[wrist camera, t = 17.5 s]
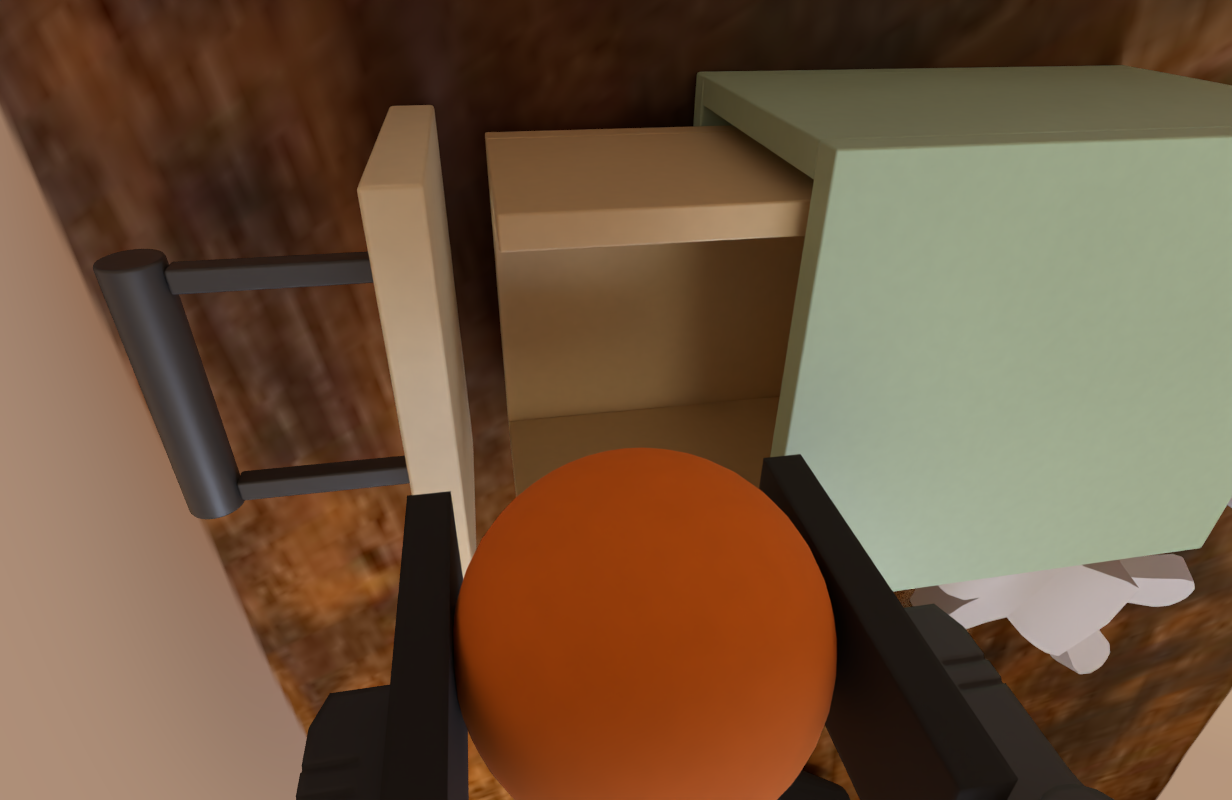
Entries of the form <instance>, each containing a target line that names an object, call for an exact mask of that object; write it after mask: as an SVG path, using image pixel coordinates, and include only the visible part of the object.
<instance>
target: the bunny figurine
mask: <svg viewBox="0 0 1232 800" xmlns="http://www.w3.org/2000/svg"><path fill="white" fill-rule="evenodd" d="M1194 589H1195V587H1194V581H1193V579H1192V577H1191V575H1190V572H1189V570H1188V568H1187V566H1186V563H1185V561H1184V559H1183V557H1180V556H1177V555H1174V554H1168V555H1153V556H1140V557H1133V558H1126V559H1119V560H1112V561H1105V562H1098V563H1091V564H1084V565H1077V566H1070V567H1063V568H1056V569H1049V570H1041V571H1034V572H1027V573H1020V574H1013V575H1006V576H999V577H992V578H985V579H978V580H971V581H964V582H957V583H950V584H943V585H935V586H928V587H921V588H916V590H915V592H914V593H913V595H912V596H911V598H910V599H909V600H910V602H911V603H912V605H913V606H920V605H927V604H935V605H937V606H938V607H939V608H940V609H942V610H943V611H944V612H946V613H947V614H948V615H949V616H951V617H952V618H953V619H955V620H956V621H957V622H959V623H960V624H961V625H962V626H964V628H965V629H968V628H971V627H974V626H977V625H980V624H983V623H986V622H990V621H994V620H998V619H1002V618H1005V617H1007V618H1008V619H1009V621H1010V622H1011V623H1012V624H1013V625H1014V627H1015V628H1016V629H1017V630H1018V631H1019V633H1020V634H1021V635H1022V636H1023V637H1025V638H1026V639H1027V640H1028V641H1029V642H1030V643H1032V644H1033V645H1034V646H1036V647H1037V648H1039V649H1041V650H1042V651H1044V652H1045V653H1049V654H1050V655H1051V657H1052V658H1054V659H1055V660H1056V661H1058V662H1059V663H1061V664H1063V665H1065V666H1066V667H1068V668H1070V669H1072V670H1073V671H1075V672H1077V673H1078V674H1087V673H1091V672H1093V671H1095V670H1096V669H1098V668H1099V667H1101V666H1102V665H1103V663H1104V662H1105V661H1106V660H1107V657H1108V655H1109V653H1110V646H1109V643H1108V641H1107V640H1106V638H1105V637H1104V636H1103V634H1102V633H1101V632H1100V630H1099V629H1101V628H1102V627H1104V626H1105V625H1107V624H1108V623H1109V622H1110V621H1111V620H1112V618H1113V617H1114V616H1115V615H1116V614H1117V613H1118V612H1119V611H1120V610H1121V608H1122V607H1123V606H1124V605H1125V604H1126V603H1127V602H1128V603H1134V604H1140V605H1147V606H1153V607H1158V606H1168V605H1171V604H1174V603H1177V602H1179V601H1181V600H1183V599H1185V598H1187V597H1188V596H1189V595H1190V594H1191V593H1192V591H1193V590H1194Z"/></svg>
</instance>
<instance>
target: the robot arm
mask: <svg viewBox="0 0 1232 800" xmlns="http://www.w3.org/2000/svg"><path fill="white" fill-rule="evenodd" d="M759 489H760V490H761V491H763V492H764V493H765V494H766V495H767V496H768V497H769V498H770V499H771V500H772V501H773V502H774V503H775V504H776V505H777V506H778V507H779V508H780V509H781V510H782V511H783V512H784V513H785V514H786V515H787V516H788V517H789V519H790V520H791V522H792V523H793V524H794V526H795V527H796V529H797V530H798V531H799V533H800V534H801V536H802V537H803V539H804V540H805V542H806V543H807V545H808V546H809V548H810V550H811V552H812V554H813V556H814V558H815V561H816V563H817V565H818V567H819V569H820V571H821V574H822V576H823V578H824V580H825V583H826V587H827V590H828V594H829V597H830V601H831V605H832V610H833V614H834V620H835V628H836V636H837V668H836V680H835V686H834V691H833V696H832V701H831V705H830V710H829V714H828V717H827V719H826V722H825V726H826V728H827V730H828V732H829V734H830V736H831V739H832V741H833V743H834V745H835V747H836V749H837V751H838V753H839V756H840V758H841V760H842V762H843V764H844V766H845V768H846V770H847V773H848V775H849V777H850V779H851V781H852V783H853V785H854V788H855V790H856V792H857V794H858V796H859V798H860V800H1114V799H1112V798H1110V797H1109V796H1107V795H1105V794H1104V793H1102V792H1100V791H1098V790H1096V789H1093V788H1089V787H1086V786H1084V785H1083V784H1082V783H1081V782H1080V781H1079V780H1078V779H1077V777H1076V776H1075V775H1074V774H1073V773H1072V772H1071V771H1070V769H1069V768H1068V767H1067V766H1066V764H1065V763H1064V762H1063V760H1062V759H1061V757H1060V756H1059V755H1058V753H1057V752H1056V751H1055V749H1054V748H1053V747H1052V745H1051V744H1050V743H1049V741H1048V740H1047V739H1046V737H1045V736H1044V735H1043V733H1042V732H1041V730H1040V729H1039V728H1038V726H1037V725H1036V724H1035V722H1034V721H1033V720H1032V718H1031V717H1030V716H1029V714H1028V713H1027V712H1026V710H1025V709H1024V707H1023V706H1022V705H1021V703H1020V702H1019V701H1018V699H1017V698H1016V697H1015V695H1014V694H1013V693H1012V691H1011V690H1010V689H1009V687H1008V686H1007V685H1006V683H1005V684H1003V683H1002V681H1001V676H1000V675H999V674H998V672H997V671H996V670H995V668H994V667H993V666H992V664H991V663H990V662H989V660H985V658H984V653H983V652H982V651H981V649H980V648H979V647H978V645H977V644H976V643H975V641H974V640H973V639H972V637H971V636H970V635H969V633H968V632H967V630H966V629H965V628H964V626H962V625H961V624H960V623H959V622H957V621H956V620H955V619H953V618H952V617H951V616H949V615H948V614H947V613H946V612H944V611H943V610H942V609H940V608H939V607H938V606H937V605H935V604H927V605H920V606H913V607H907V608H903V606H902V605H901V603H900V602H899V600H898V599H897V597H896V596H895V594H894V593H893V591H892V590H891V588H890V587H889V585H888V584H887V582H886V581H885V579H884V578H883V576H882V575H881V573H880V572H879V570H878V569H877V567H876V566H875V564H874V563H873V561H872V560H871V558H870V557H869V555H868V554H867V552H866V551H865V549H864V548H863V546H862V545H861V543H860V542H859V540H858V539H857V537H856V536H855V534H854V533H853V531H852V530H851V528H850V527H849V526H848V524H847V523H846V521H845V520H844V518H843V517H842V515H841V514H840V512H839V511H838V509H837V508H836V506H835V505H834V503H833V502H832V500H831V499H830V497H829V496H828V494H827V493H826V491H825V490H824V488H823V487H822V485H821V484H820V482H819V481H818V479H817V478H816V476H815V475H814V473H813V472H812V470H811V469H810V467H809V466H808V464H807V463H806V461H805V460H804V458H803V457H802V455H801V454H796V455H787V456H777V457H768V458H763V465H762V471H761V478H760V485H759ZM462 582H463V574H462V567H461V560H460V553H459V546H458V539H457V532H456V525H455V518H454V511H453V504H452V497H451V491H447V492H438V493H428V494H419V495H409V496H407V504H406V515H405V526H404V537H403V549H402V560H401V571H400V582H399V593H398V604H397V615H396V626H395V637H394V649H393V660H392V671H391V682H390V685H384V686H377V687H371V688H364V689H357V690H350V691H343V692H336V693H330V694H329V696H328V697H327V699H326V701H325V702H324V704H323V706H322V707H321V709H320V711H319V712H318V714H317V715H316V717H315V719H314V720H313V722H312V724H311V725H310V727H309V730H308V735H307V740H306V746H305V751H304V756H303V762H302V773H300V777H299V783H298V788H297V794H296V800H469V797H468V729H467V727H466V724H465V722H464V719H463V716H462V712H461V709H460V705H459V701H458V697H457V688H456V679H455V669H454V649H453V625H454V614H455V607H456V603H457V599H458V595H459V592H460V588H461V585H462Z"/></svg>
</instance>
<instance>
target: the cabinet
mask: <svg viewBox="0 0 1232 800" xmlns="http://www.w3.org/2000/svg"><path fill="white" fill-rule="evenodd" d="M731 125H733V126H735V127H736V128H738V129H739V130H741V131H742V132H744V133H745V134H747V135H748V136H750V137H751V138H753V139H754V140H756V141H757V142H759V143H760V144H762V145H763V146H765V147H766V148H767V149H769V150H770V151H772V152H773V153H775V154H776V155H778V156H779V157H781V158H782V159H784V160H785V161H787V162H788V163H790V164H791V165H793V166H794V167H796V168H797V169H799V170H800V171H802V172H803V173H805V174H806V175H808V176H809V177H811V178H812V179H814V183H813V189H812V195H811V202H810V208H809V214H808V221H807V227H806V233H805V240H804V246H803V252H802V259H801V265H800V271H799V278H798V284H797V290H796V297H795V303H794V309H793V316H792V322H791V328H790V335H789V341H788V347H787V354H786V360H785V366H784V373H783V379H782V385H781V392H780V398H779V405H778V411H777V417H776V424H775V430H774V436H773V443H772V449H771V455H770V457H777V456H787V455H796V454H801V455H802V457H803V458H804V460H805V461H806V463H807V464H808V466H809V467H810V469H811V470H812V472H813V473H814V475H815V476H816V478H817V479H818V481H819V482H820V484H821V485H822V487H823V488H824V490H825V491H826V493H827V494H828V496H829V497H830V499H831V500H832V502H833V503H834V505H835V506H836V508H837V509H838V511H839V512H840V514H841V515H842V517H843V518H844V520H845V521H846V523H847V524H848V526H849V527H850V528H851V530H852V531H853V533H854V534H855V536H856V537H857V539H858V540H859V542H860V543H861V545H862V546H863V548H864V549H865V551H866V552H867V554H868V555H869V557H870V558H871V560H872V561H873V563H874V564H875V566H876V567H877V569H878V570H879V572H880V573H881V575H882V576H883V578H884V579H885V581H886V582H887V584H888V585H889V587H890V588H891V590H892V591H900V590H907V589H914V588H921V587H928V586H935V585H943V584H950V583H957V582H964V581H971V580H978V579H985V578H992V577H999V576H1006V575H1013V574H1020V573H1027V572H1034V571H1041V570H1049V569H1056V568H1063V567H1070V566H1077V565H1084V564H1091V563H1098V562H1105V561H1112V560H1119V559H1126V558H1133V557H1140V556H1148V555H1155V554H1162V553H1169V552H1176V551H1183V550H1190V549H1197V548H1201V547H1202V545H1203V544H1204V542H1205V540H1206V539H1207V537H1208V535H1209V534H1210V532H1211V530H1212V529H1213V527H1214V525H1215V524H1216V522H1217V521H1218V519H1219V517H1220V516H1221V514H1222V512H1223V511H1224V509H1225V507H1226V506H1227V504H1228V502H1229V501H1230V499H1231V497H1232V86H1231V85H1226V84H1221V83H1215V82H1210V81H1205V80H1200V79H1194V78H1189V77H1184V76H1178V75H1173V74H1168V73H1162V72H1157V71H1152V70H1147V69H1139V68H1135V67H1130V66H1124V65H1107V66H1042V67H978V68H913V69H848V70H784V71H719V72H698V73H697V79H696V94H695V109H694V124H693V127H695V126H731Z"/></svg>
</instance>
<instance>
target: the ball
mask: <svg viewBox="0 0 1232 800" xmlns="http://www.w3.org/2000/svg"><path fill="white" fill-rule="evenodd" d="M453 649H454V669H455V679H456V688H457V697H458V701H459V705H460V709H461V712H462V716H463V719H464V722H465V724H466V727H467V729H468V731H469V734H470V736H471V739H472V741H473V743H474V745H475V747H476V748H477V750H478V752H479V754H480V756H481V757H482V759H483V760H484V762H485V764H486V765H487V767H488V768H489V770H490V772H491V773H492V774H493V776H494V777H495V778H496V779H497V780H498V782H499V783H500V784H501V785H502V786H503V787H504V788H505V790H506V791H507V792H508V793H509V794H510V795H511V796H512V797H513V798H514V800H777V799H778V798H779V797H780V796H781V795H782V794H783V793H784V792H785V791H786V790H787V789H788V788H789V787H790V786H791V784H792V783H793V782H794V780H795V779H796V778H797V777H798V775H799V774H800V772H801V770H802V769H803V767H804V766H805V764H806V762H807V761H808V759H809V758H810V756H811V754H812V752H813V751H814V749H815V747H816V745H817V743H818V740H819V737H820V735H821V732H822V730H823V727H824V725H825V722H826V719H827V717H828V714H829V710H830V705H831V701H832V696H833V691H834V686H835V680H836V668H837V636H836V628H835V620H834V614H833V610H832V605H831V601H830V597H829V594H828V590H827V587H826V583H825V580H824V578H823V576H822V574H821V571H820V569H819V567H818V565H817V563H816V561H815V558H814V556H813V554H812V552H811V550H810V548H809V546H808V545H807V543H806V542H805V540H804V539H803V537H802V536H801V534H800V533H799V531H798V530H797V529H796V527H795V526H794V524H793V523H792V522H791V520H790V519H789V517H788V516H787V515H786V514H785V513H784V512H783V511H782V510H781V509H780V508H779V507H778V506H777V505H776V504H775V503H774V502H773V501H772V500H771V499H770V498H769V497H768V496H767V495H766V494H765V493H764V492H763V491H761V490H760V489H758V488H757V487H755V486H754V485H753V484H751V483H750V482H748V481H747V480H745V479H744V478H742V477H741V476H740V475H738V474H737V473H735V472H733V471H731V470H729V469H727V468H725V467H723V466H721V465H719V464H716V463H714V462H712V461H709V460H707V459H704V458H701V457H698V456H695V455H692V454H689V453H684V452H679V451H673V450H667V449H658V448H643V447H642V448H623V449H616V450H609V451H604V452H600V453H596V454H592V455H588V456H585V457H583V458H580V459H577V460H575V461H572V462H569V463H567V464H565V465H563V466H561V467H559V468H557V469H555V470H553V471H551V472H550V473H548V474H547V475H545V476H544V477H542V478H541V479H539V480H537V481H536V482H535V483H533V484H532V485H531V486H529V487H528V488H527V489H526V490H524V491H523V492H522V493H521V494H520V495H518V496H517V497H516V498H515V499H514V500H513V501H512V502H511V503H510V504H509V505H508V506H507V507H506V508H505V509H504V510H503V511H502V512H501V514H500V515H499V516H498V518H497V519H496V520H495V522H494V523H493V524H492V526H491V527H490V528H489V530H488V531H487V532H486V534H485V535H484V537H483V538H482V540H481V542H480V544H479V546H478V547H477V549H476V551H475V553H474V555H473V557H472V559H471V561H470V563H469V566H468V568H467V570H466V573H465V576H464V579H463V582H462V585H461V588H460V592H459V595H458V599H457V603H456V607H455V614H454V625H453Z"/></svg>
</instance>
